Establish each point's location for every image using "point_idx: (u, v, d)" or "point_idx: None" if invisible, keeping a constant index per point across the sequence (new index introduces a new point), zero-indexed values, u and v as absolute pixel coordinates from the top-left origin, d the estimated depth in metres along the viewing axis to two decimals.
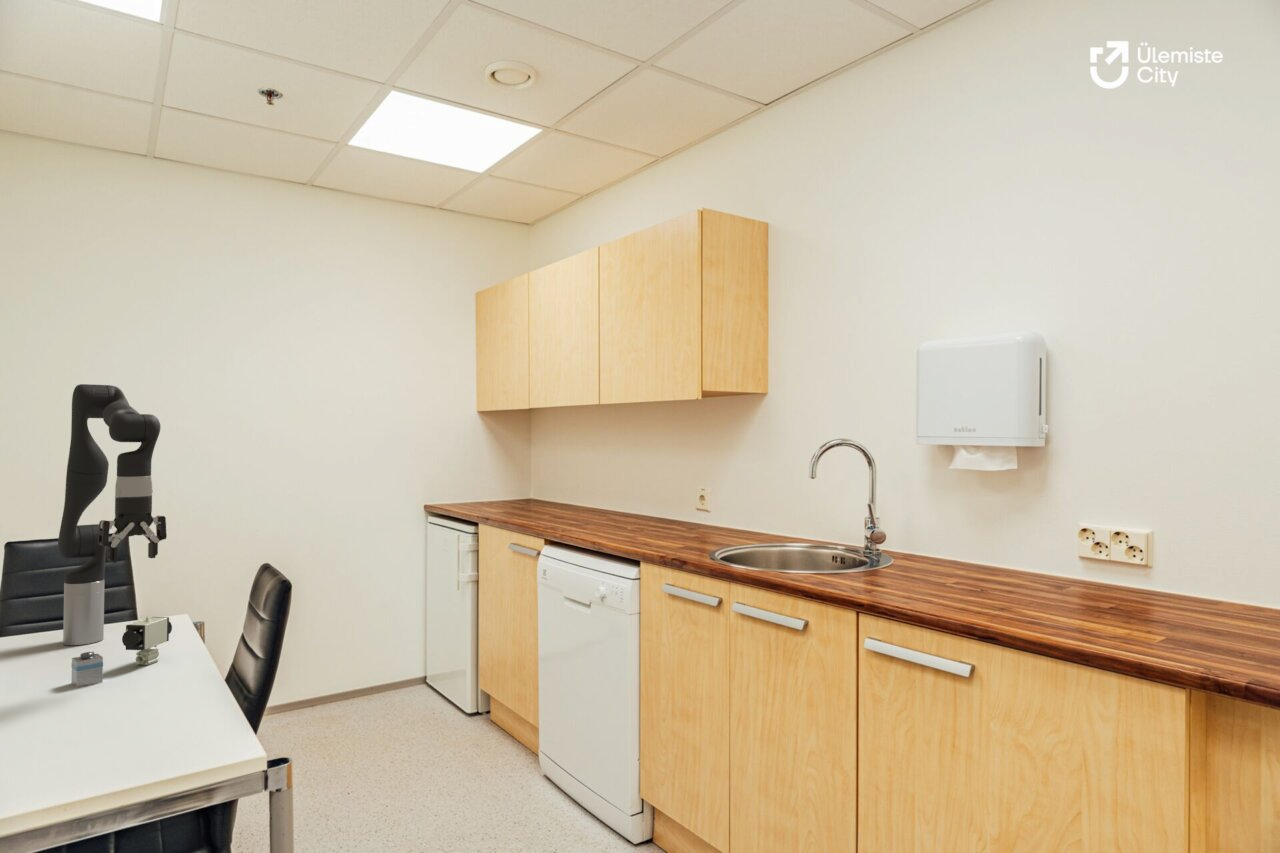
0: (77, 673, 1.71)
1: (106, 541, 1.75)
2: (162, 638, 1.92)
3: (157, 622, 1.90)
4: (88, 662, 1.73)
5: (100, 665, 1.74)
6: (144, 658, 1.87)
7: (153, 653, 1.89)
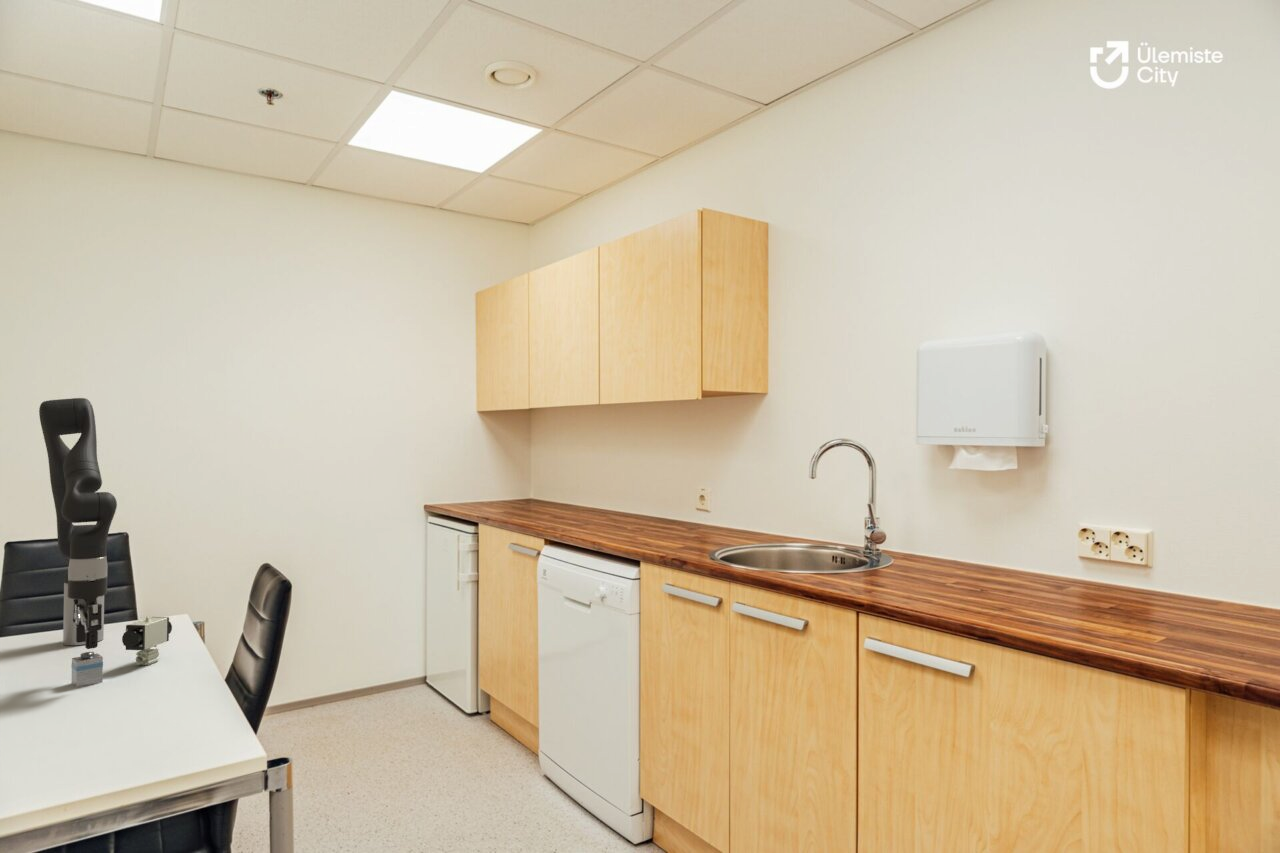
0: (77, 673, 1.71)
1: None
2: (162, 638, 1.92)
3: (157, 622, 1.90)
4: (88, 662, 1.73)
5: (100, 665, 1.74)
6: (144, 658, 1.87)
7: (153, 653, 1.89)
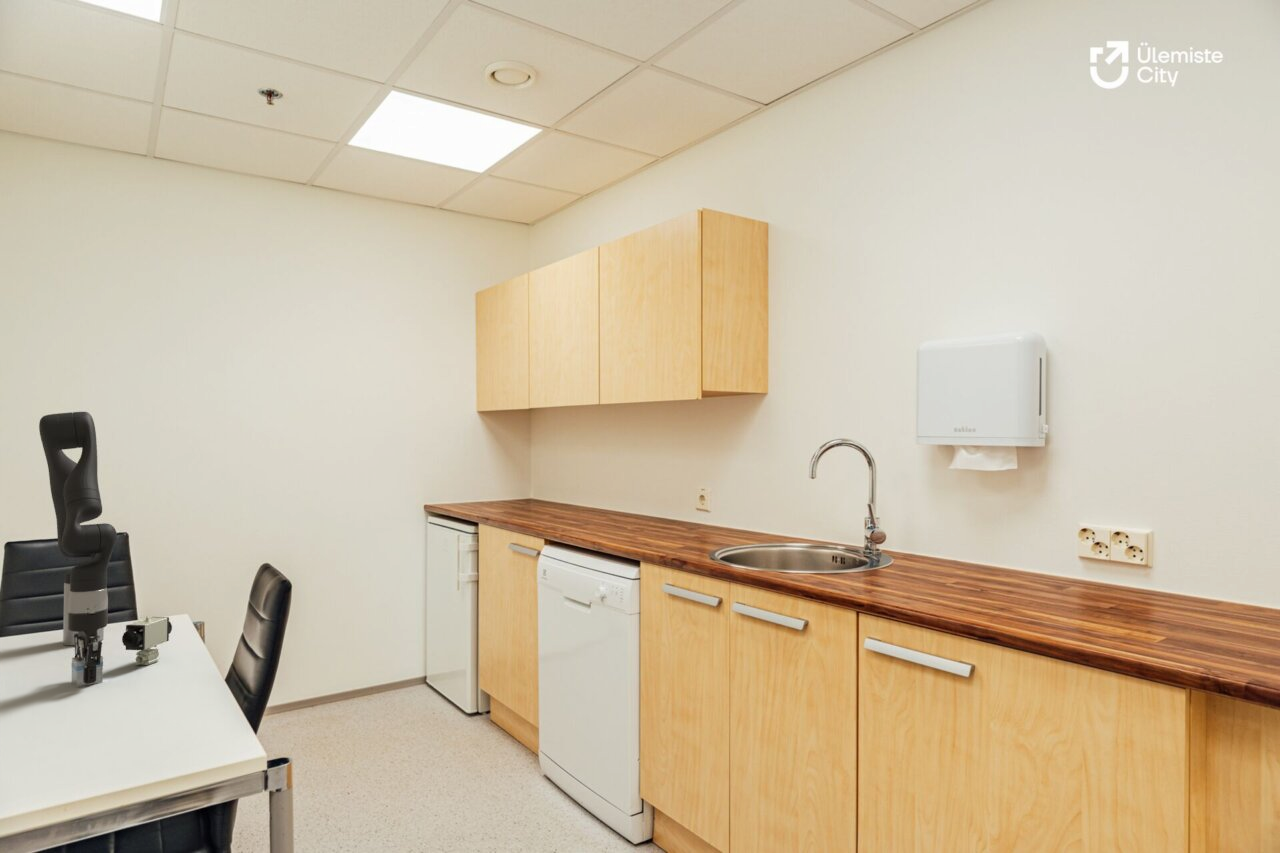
0: (77, 673, 1.71)
1: None
2: (162, 638, 1.92)
3: (157, 622, 1.90)
4: None
5: (100, 665, 1.74)
6: (144, 658, 1.87)
7: (153, 653, 1.89)
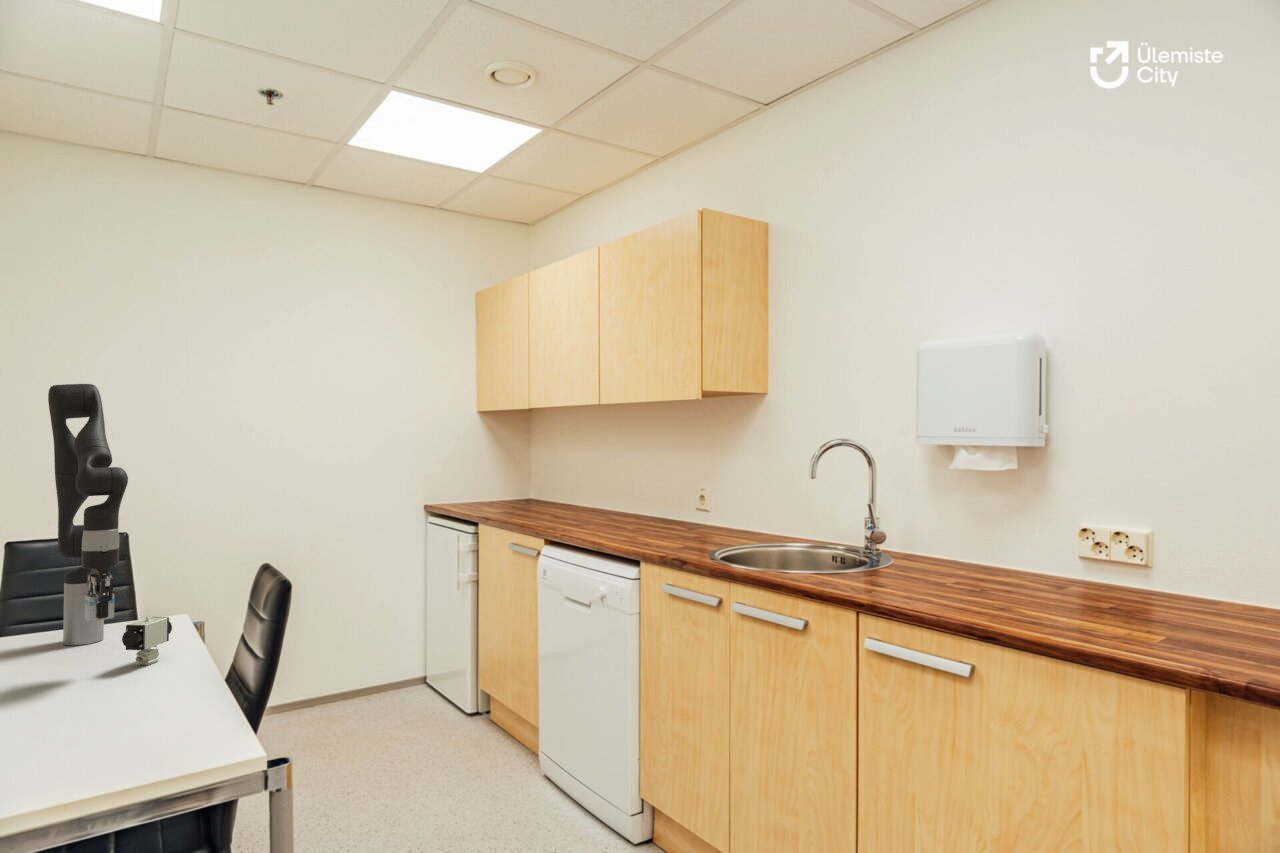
0: (90, 608, 1.79)
1: None
2: (162, 638, 1.92)
3: (157, 622, 1.90)
4: None
5: (112, 601, 1.82)
6: (144, 658, 1.87)
7: (153, 653, 1.89)
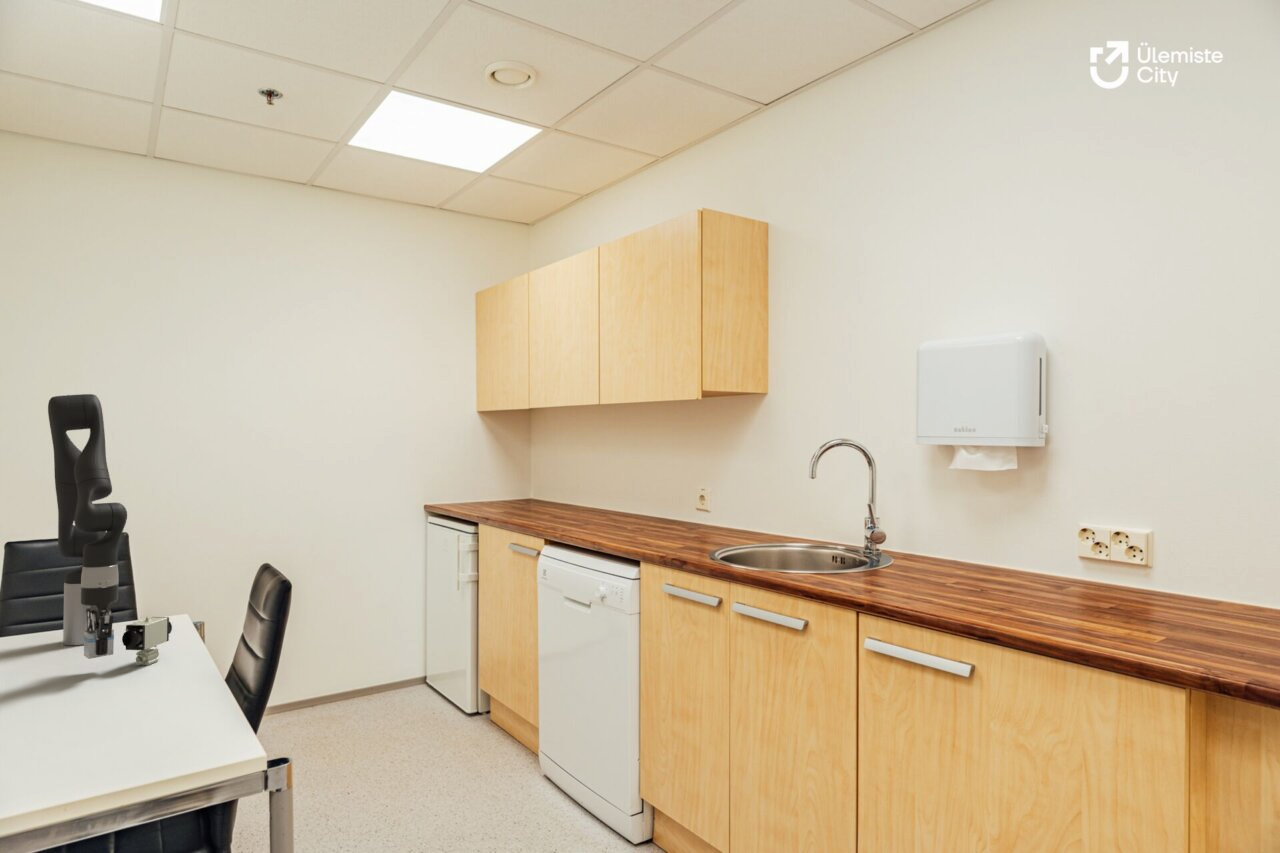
0: (89, 645, 1.79)
1: None
2: (162, 638, 1.92)
3: (157, 622, 1.90)
4: None
5: (111, 638, 1.82)
6: (144, 658, 1.87)
7: (153, 653, 1.89)
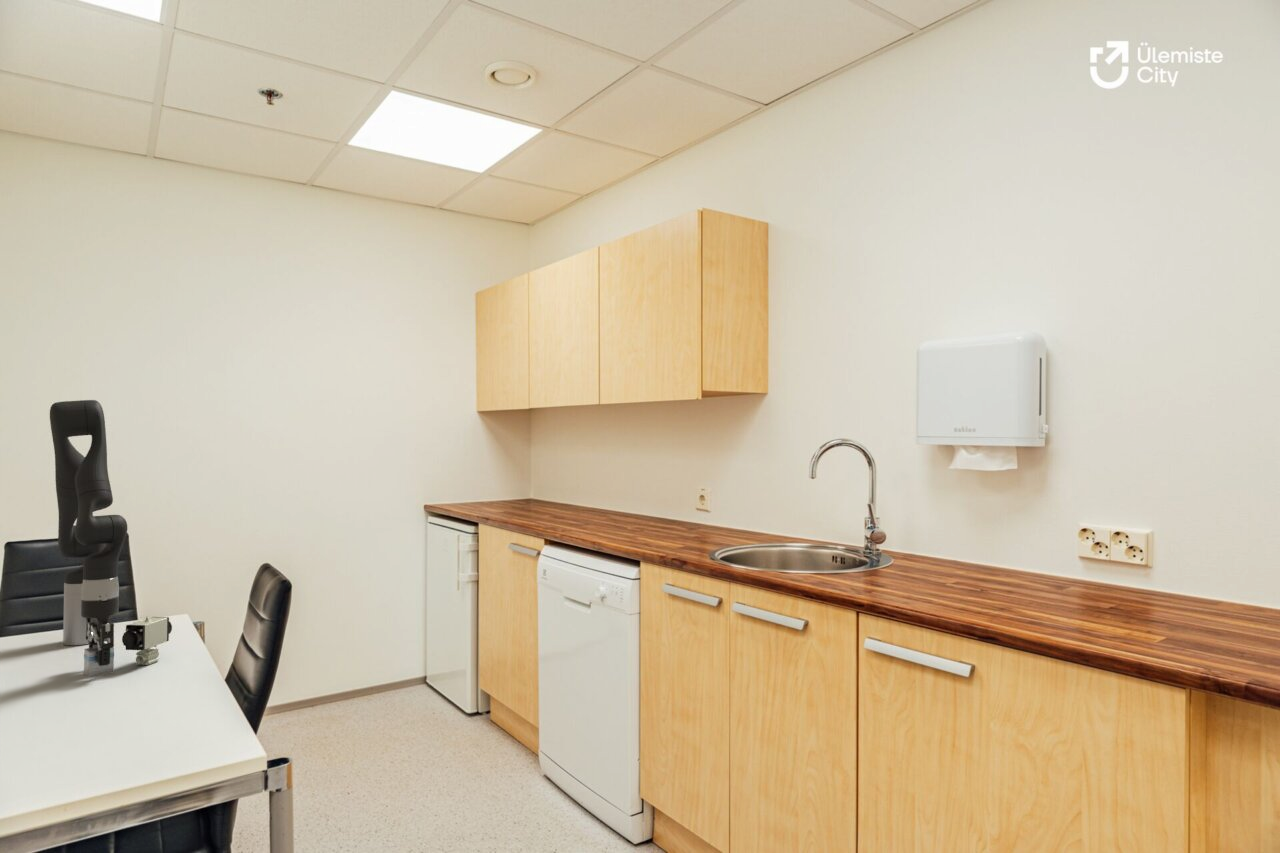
0: (89, 663, 1.79)
1: None
2: (162, 638, 1.92)
3: (157, 622, 1.90)
4: None
5: (111, 655, 1.82)
6: (144, 658, 1.87)
7: (153, 653, 1.89)
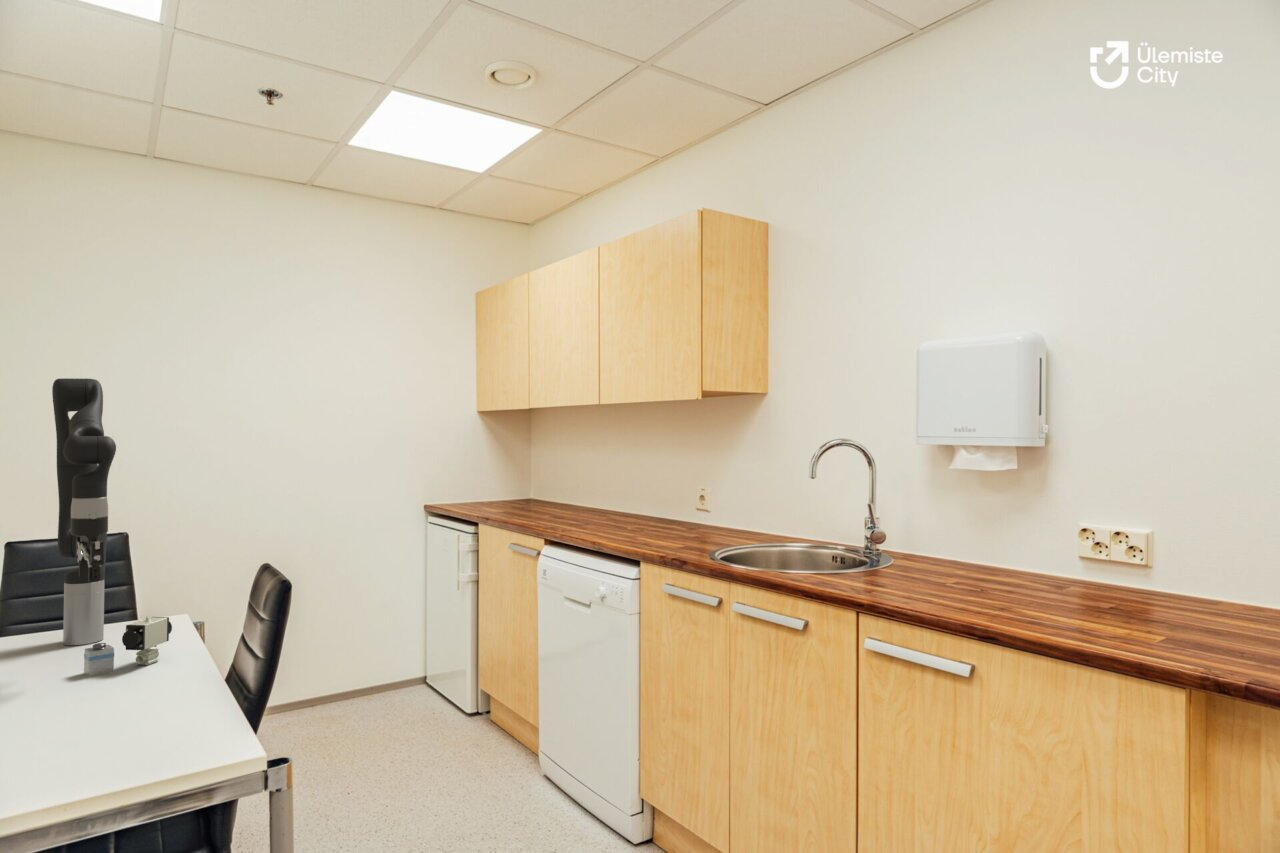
0: (90, 663, 1.79)
1: None
2: (162, 638, 1.92)
3: (157, 622, 1.90)
4: (100, 653, 1.80)
5: (111, 656, 1.82)
6: (144, 658, 1.87)
7: (153, 653, 1.89)
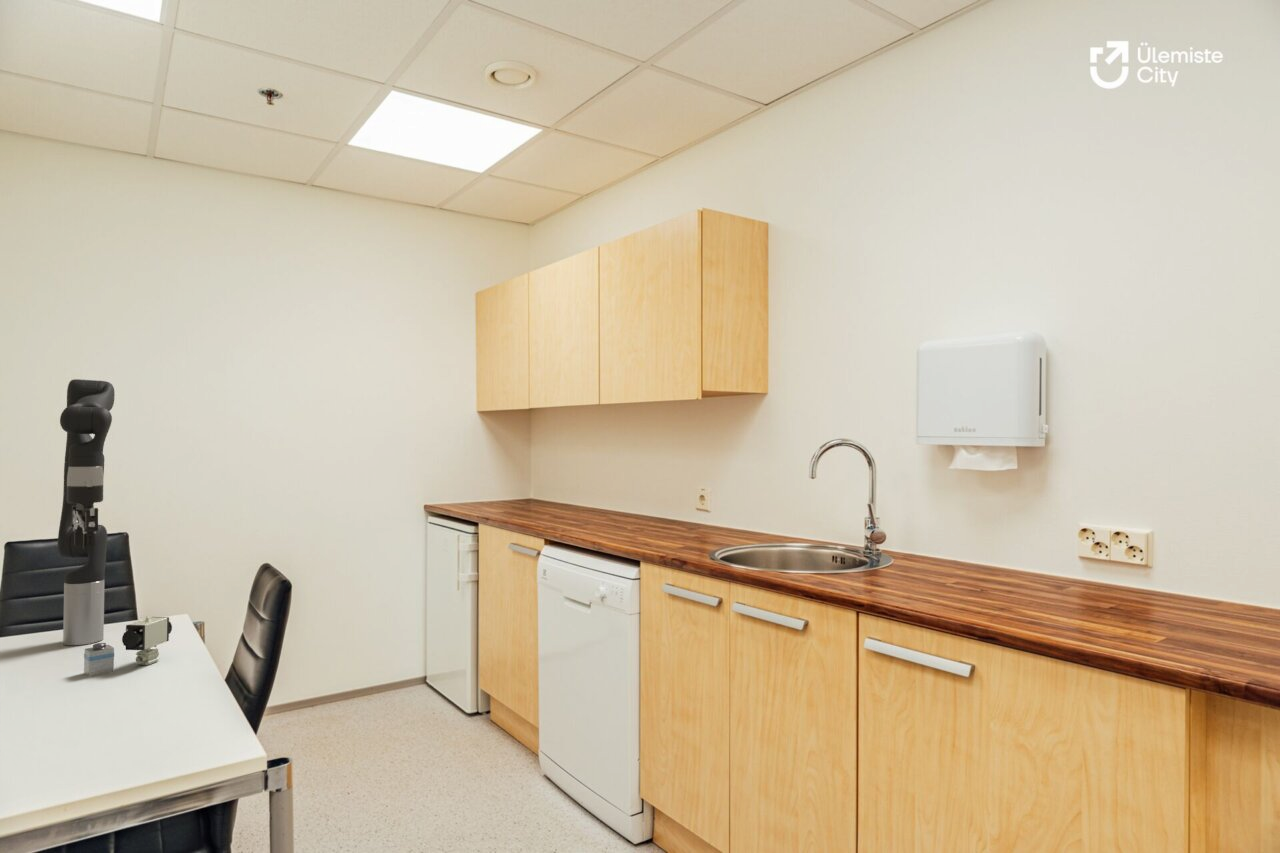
0: (90, 663, 1.79)
1: None
2: (162, 638, 1.92)
3: (157, 622, 1.90)
4: (100, 653, 1.80)
5: (111, 656, 1.82)
6: (144, 658, 1.87)
7: (153, 653, 1.89)
